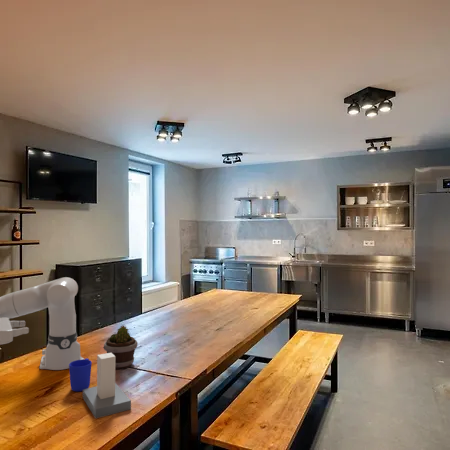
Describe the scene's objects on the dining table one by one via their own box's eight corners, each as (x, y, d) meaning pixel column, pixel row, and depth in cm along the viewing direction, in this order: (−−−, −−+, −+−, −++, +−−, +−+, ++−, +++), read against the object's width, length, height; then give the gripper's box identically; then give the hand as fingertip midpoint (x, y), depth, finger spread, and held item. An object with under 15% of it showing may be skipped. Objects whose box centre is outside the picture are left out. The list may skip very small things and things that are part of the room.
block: (96, 393, 135) (97, 354, 135) (110, 390, 138) (111, 352, 138) (100, 399, 131) (101, 359, 131) (115, 395, 134) (115, 356, 134)
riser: (82, 397, 139) (82, 389, 139) (114, 390, 145) (115, 382, 145) (95, 418, 124) (95, 409, 124) (130, 409, 130) (130, 400, 130)
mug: (97, 380, 154) (97, 355, 154) (87, 393, 142) (87, 366, 142) (76, 380, 154) (77, 356, 154) (65, 393, 142) (65, 367, 142)
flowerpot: (102, 362, 175) (102, 319, 175) (135, 358, 180) (136, 316, 180) (103, 373, 161) (104, 327, 161) (139, 369, 167) (140, 324, 167)
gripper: (-24, 334, 125) (23, 328, 133) (-24, 352, 108) (30, 344, 116) (-24, 315, 125) (23, 311, 133) (-24, 330, 108) (30, 323, 116)
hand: (26, 326), depth 124 cm, fingers open, 8 cm apart
